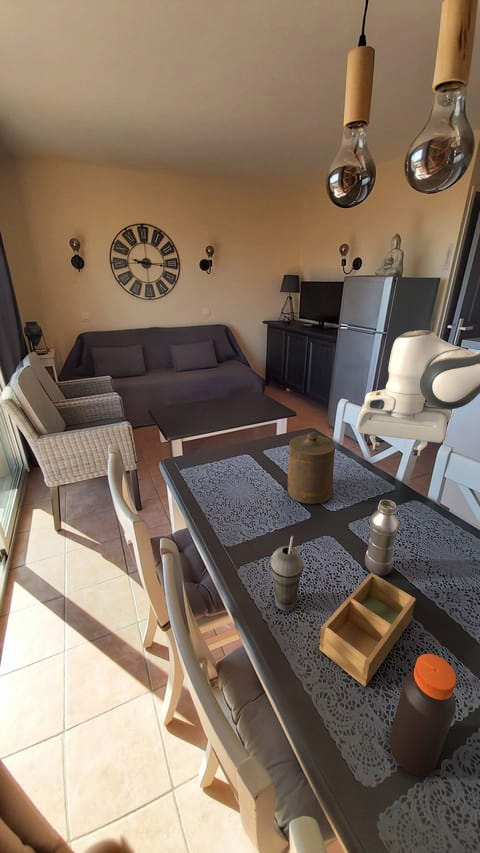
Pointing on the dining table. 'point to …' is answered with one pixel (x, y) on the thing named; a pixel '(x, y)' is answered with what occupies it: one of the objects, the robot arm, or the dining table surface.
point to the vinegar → (423, 715)
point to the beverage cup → (286, 575)
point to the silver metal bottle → (382, 539)
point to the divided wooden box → (366, 627)
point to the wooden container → (311, 468)
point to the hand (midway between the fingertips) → (395, 452)
